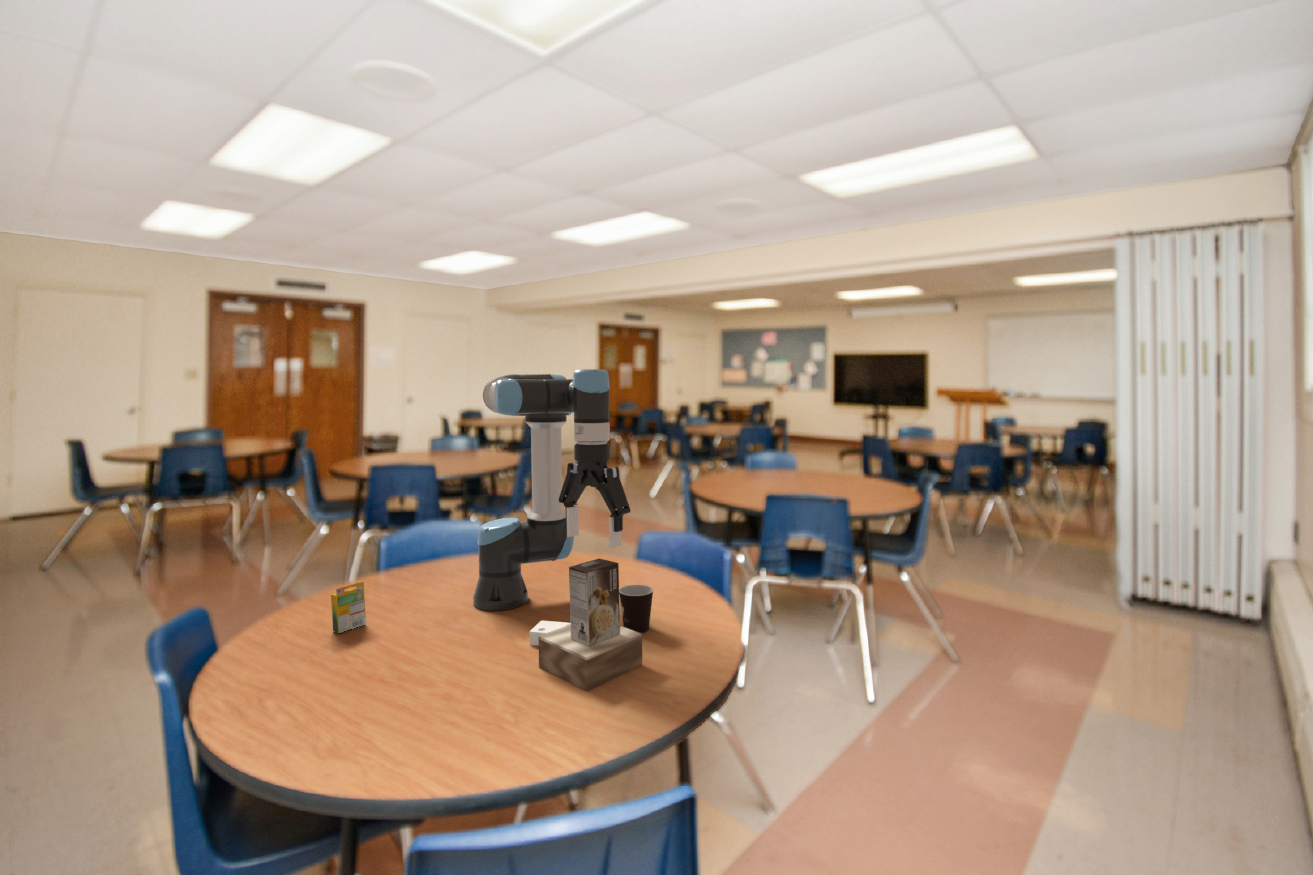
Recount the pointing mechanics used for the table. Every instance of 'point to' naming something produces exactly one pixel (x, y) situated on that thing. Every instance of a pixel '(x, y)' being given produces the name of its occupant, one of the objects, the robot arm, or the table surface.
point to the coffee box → (594, 601)
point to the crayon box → (348, 608)
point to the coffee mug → (636, 607)
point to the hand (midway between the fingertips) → (593, 541)
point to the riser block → (589, 656)
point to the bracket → (544, 629)
